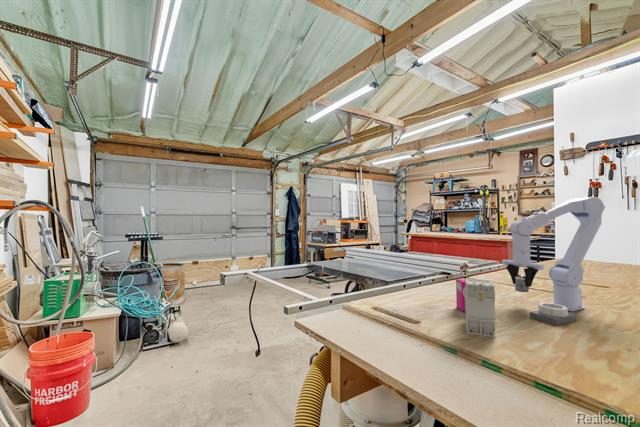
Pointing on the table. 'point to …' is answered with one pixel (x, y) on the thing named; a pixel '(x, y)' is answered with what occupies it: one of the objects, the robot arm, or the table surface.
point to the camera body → (552, 314)
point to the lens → (521, 283)
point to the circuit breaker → (480, 307)
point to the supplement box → (460, 294)
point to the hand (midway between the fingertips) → (521, 285)
